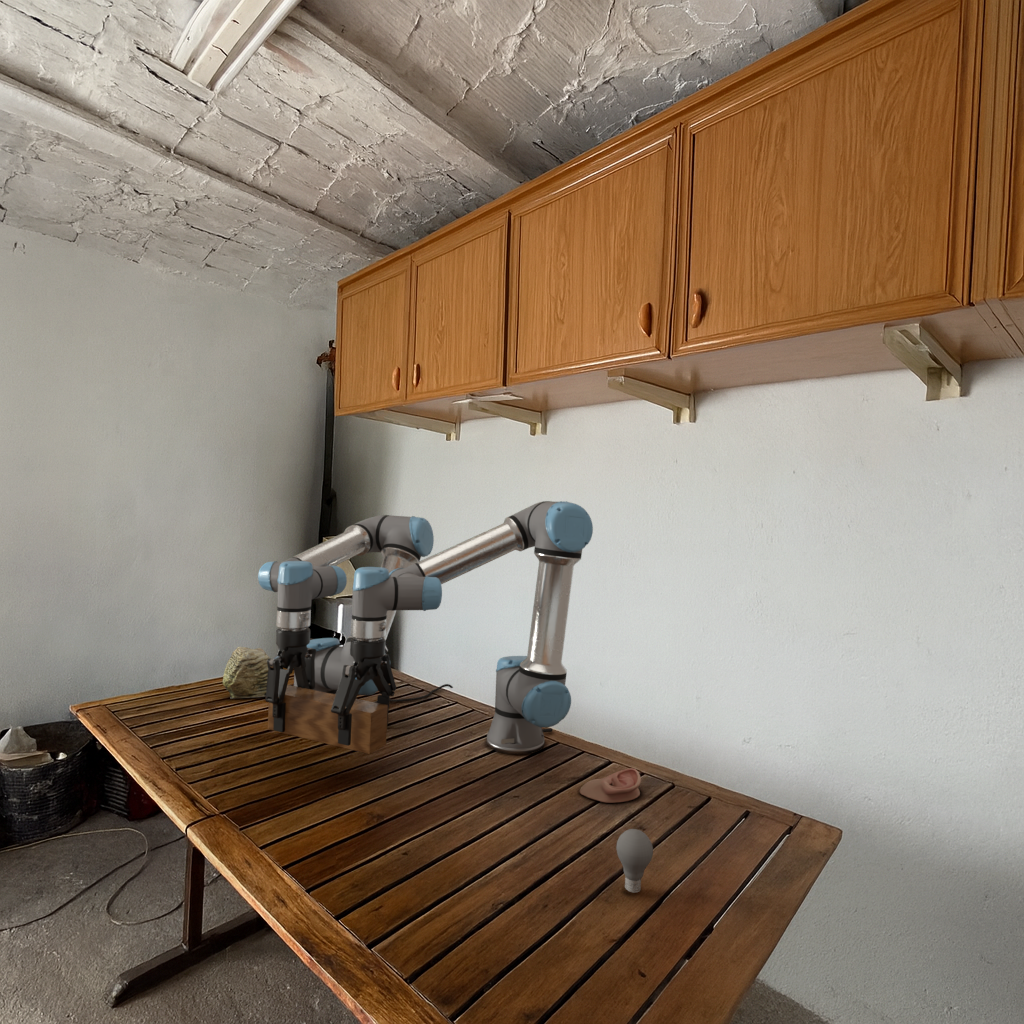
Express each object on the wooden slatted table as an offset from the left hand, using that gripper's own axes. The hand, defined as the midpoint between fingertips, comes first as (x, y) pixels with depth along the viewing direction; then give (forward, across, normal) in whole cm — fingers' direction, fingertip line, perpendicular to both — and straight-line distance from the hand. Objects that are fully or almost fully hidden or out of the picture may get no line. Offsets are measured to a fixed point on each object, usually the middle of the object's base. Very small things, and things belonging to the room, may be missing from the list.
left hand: (289, 725), depth 148 cm
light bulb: (+9, -10, -84) cm, 85 cm away
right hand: (-2, 0, -21) cm, 21 cm away
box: (+1, 0, -10) cm, 11 cm away
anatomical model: (+9, +24, -71) cm, 75 cm away
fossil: (+10, +34, +46) cm, 58 cm away
